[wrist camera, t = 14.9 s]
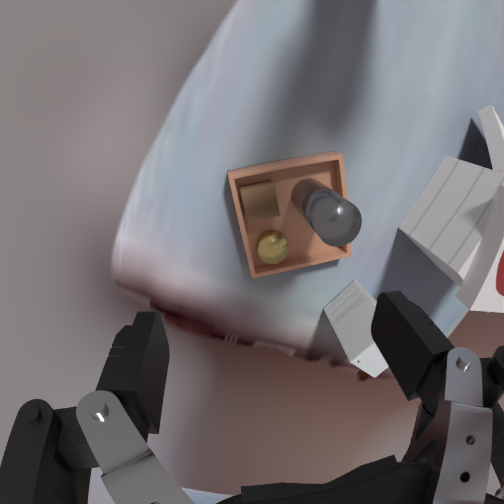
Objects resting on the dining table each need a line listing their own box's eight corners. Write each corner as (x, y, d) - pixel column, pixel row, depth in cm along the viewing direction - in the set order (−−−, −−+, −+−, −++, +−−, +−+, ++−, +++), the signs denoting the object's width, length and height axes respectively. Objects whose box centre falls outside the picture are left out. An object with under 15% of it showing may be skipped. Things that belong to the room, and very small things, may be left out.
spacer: (288, 181, 35) (314, 205, 25) (323, 175, 35) (360, 197, 25) (294, 215, 37) (319, 251, 27) (327, 208, 37) (362, 241, 27)
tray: (227, 171, 35) (227, 175, 32) (333, 151, 35) (342, 154, 32) (249, 268, 41) (251, 279, 38) (343, 247, 41) (351, 255, 38)
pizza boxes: (510, 165, 37) (576, 192, 21) (436, 282, 46) (494, 339, 30) (468, 92, 31) (552, 101, 15) (380, 229, 40) (455, 293, 24)
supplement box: (346, 328, 48) (373, 379, 37) (321, 308, 45) (348, 363, 34) (377, 300, 46) (412, 348, 35) (355, 277, 44) (392, 326, 32)
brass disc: (258, 227, 37) (260, 233, 36) (288, 231, 38) (292, 237, 36) (253, 255, 39) (255, 262, 37) (282, 258, 40) (285, 265, 38)
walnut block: (239, 186, 35) (240, 190, 33) (270, 179, 35) (274, 183, 33) (245, 216, 37) (247, 222, 34) (276, 209, 37) (280, 215, 34)
